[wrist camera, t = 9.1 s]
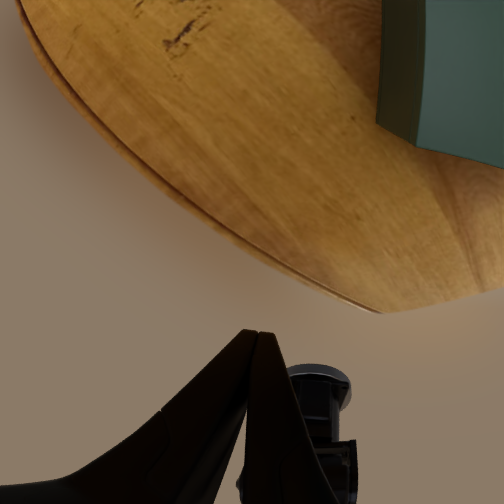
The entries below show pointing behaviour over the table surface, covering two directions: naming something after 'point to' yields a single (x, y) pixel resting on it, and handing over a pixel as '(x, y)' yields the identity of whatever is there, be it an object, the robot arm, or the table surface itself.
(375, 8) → the table surface
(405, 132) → the chest
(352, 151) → the table surface
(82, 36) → the table surface
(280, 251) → the table surface
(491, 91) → the lid
